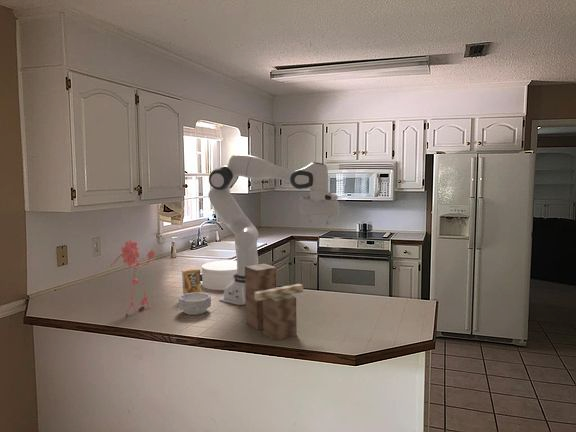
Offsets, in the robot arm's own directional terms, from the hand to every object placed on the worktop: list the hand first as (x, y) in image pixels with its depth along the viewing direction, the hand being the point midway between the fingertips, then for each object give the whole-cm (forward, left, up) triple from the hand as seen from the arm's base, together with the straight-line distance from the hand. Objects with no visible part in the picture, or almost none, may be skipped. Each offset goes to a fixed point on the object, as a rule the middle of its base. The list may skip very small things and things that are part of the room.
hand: (319, 224), depth 231 cm
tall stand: (-14, -35, -41) cm, 56 cm away
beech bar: (-1, -43, -24) cm, 49 cm away
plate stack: (-68, +20, -42) cm, 82 cm away
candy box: (-68, -13, -41) cm, 81 cm away
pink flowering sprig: (-83, -41, -41) cm, 101 cm away
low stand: (-1, -43, -41) cm, 59 cm away
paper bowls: (-52, -32, -41) cm, 74 cm away
